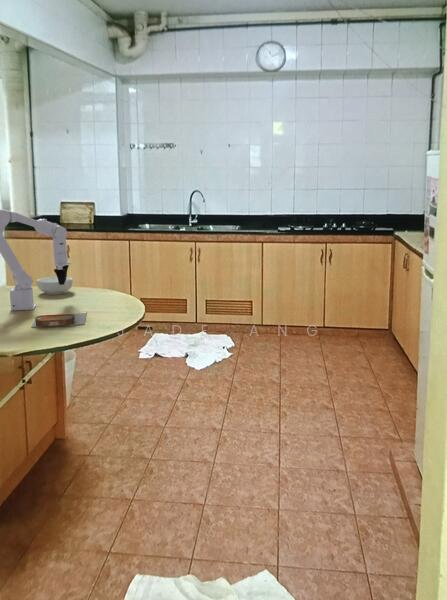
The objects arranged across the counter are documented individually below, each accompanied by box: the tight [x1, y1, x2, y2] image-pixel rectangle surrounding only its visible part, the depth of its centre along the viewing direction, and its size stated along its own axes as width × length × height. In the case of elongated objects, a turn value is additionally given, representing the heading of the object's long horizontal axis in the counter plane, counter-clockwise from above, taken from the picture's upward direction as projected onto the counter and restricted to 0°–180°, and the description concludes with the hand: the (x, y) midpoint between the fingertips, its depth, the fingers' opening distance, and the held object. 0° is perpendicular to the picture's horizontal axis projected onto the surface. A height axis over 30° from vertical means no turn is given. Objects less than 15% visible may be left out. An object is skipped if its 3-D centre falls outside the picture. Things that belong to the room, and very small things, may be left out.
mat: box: [30, 312, 88, 329], centre depth 241 cm, size 20×18×1 cm
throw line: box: [44, 311, 88, 315], centre depth 251 cm, size 20×1×1 cm, turn 100°
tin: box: [34, 313, 75, 327], centre depth 235 cm, size 15×3×8 cm
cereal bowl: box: [36, 276, 73, 296], centre depth 293 cm, size 17×17×7 cm
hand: (62, 282), depth 269 cm, fingers open, 7 cm apart
